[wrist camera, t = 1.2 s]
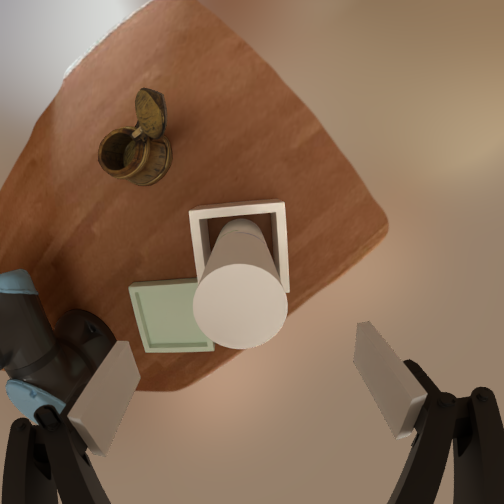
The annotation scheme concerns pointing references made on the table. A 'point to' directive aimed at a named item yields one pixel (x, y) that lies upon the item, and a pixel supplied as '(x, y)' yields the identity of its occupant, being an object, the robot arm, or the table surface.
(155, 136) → the wooden mug
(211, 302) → the cylindrical container
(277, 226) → the hollow square frame
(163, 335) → the tray
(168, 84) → the table surface
